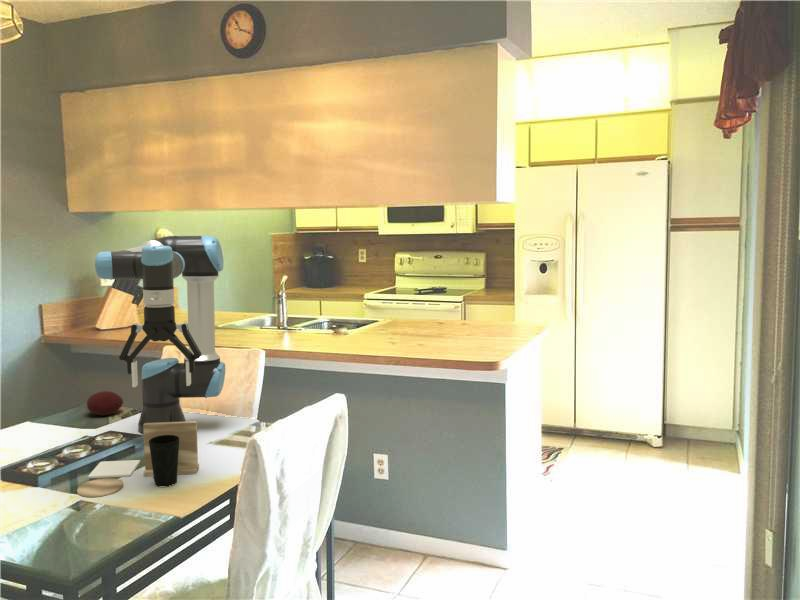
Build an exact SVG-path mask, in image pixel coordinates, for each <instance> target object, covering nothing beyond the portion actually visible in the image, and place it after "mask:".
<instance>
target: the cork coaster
mask: <svg viewBox="0 0 800 600" xmlns="http://www.w3.org/2000/svg"><path fill="white" fill-rule="evenodd" d="M123 488H124V481H123V480H122V479H120V478H116V477H109V478H96V479H92V480H90V481H87V482H84V483H83V484H81V485H80V486H78V487H77V489H76V490H77V492H76V493H77V495H78V496H80V497H84V498H101V497H107V496H110V495H113V494H115V493H118V492H119V491H121V490H122V489H123Z"/></svg>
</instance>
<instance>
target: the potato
mask: <svg viewBox="0 0 800 600" xmlns="http://www.w3.org/2000/svg"><path fill="white" fill-rule="evenodd" d="M123 404H124V400H123V398H122V396H120V395H119V394H117V393H115V392H113V391H109V390H108V391H107V390H105V391H104V390H103V391H99V392H97V393H93V394H92V395H91V396H90V397H88V398H87V402H86V407H87V409H88V411H89V412H91V413H92V415H98V416H104V417H105V416H110V415H113V414H115V413H116V412H117V411H119V410H120V409H121V408H122V406H123Z"/></svg>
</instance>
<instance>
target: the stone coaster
mask: <svg viewBox="0 0 800 600" xmlns="http://www.w3.org/2000/svg"><path fill="white" fill-rule="evenodd" d="M140 463H141V459H133V460H131V459H130V460H127V459H126V460H109V461H106V460H104V461H100V462H99V463H98V464H97V465H96V466H95V467H94V469H92V471H91V472H90V473H89V475H87V479H103V478H126V477H127V478H129V477H131V476H132V475H133V473H134V472H135V471H136V469H137V467H138V466H139V465H140Z"/></svg>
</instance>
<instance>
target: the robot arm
mask: <svg viewBox="0 0 800 600" xmlns="http://www.w3.org/2000/svg"><path fill="white" fill-rule="evenodd" d="M94 268H95V272H96V273H95V274H96V275H97V277H98V278H100V279H103V280H111V281H112V280H142V295H143V296H142V297H143V298H142V299H143V305H145V306H144V307H143V324H138V323H137V322H136V323H134V324H132V325H131V326H130V327H131V328H130V334H129V336H128V338H127V340H126V342H125V344H124V346H123V348H122V351H121V353H120V355H119V357H118V358H119V359H118V360H120V361H124V362H126V364H127V365H126V366H127V374H128V375H131V385H132V388H136V387H137V386H138V385H139V376H138V375H139V373H138V360H134V359H135V358H136V357H137V356H138V355H139V353H140V352H141V351H142V350H143V349H144V348H145V346H147V344H148V343H149V342H150V341H153V342H159V341H160V342H167V341H168V340H169V342H170V343H172V344H173V345H174V346H175V347H176V348H177V350H179V351H180V352H181V353H182V355H183V356H184V358H183V362H180V361H179V359H178V358H177V357H167V358H160V359H156V360H152V361H149V362H147V363H145V364H143V366H142V368H141V377H140V380H141V389H142V391H141V392H142V410H141V412H140V416H139V419H138V423H137V426H138V427H137V428H138V430H137V431H138V432H139V433H141V434H143V435H144V432H143V424H144V423H159V422H187V421H186V420H187V419H186V417H185V414H184V412H183V409H182V406H181V403H180V399H181V398H182V399H184V398H186V399H187V398H188V399H189V398H190V399H191V398H205V399H207V398H213V397H214V398H215V397H218V396H220V395H221V393H222V391H223V387H224V383H225V379H226V377H225V376H226V364H225V362H223V361H221V356H220V355H219V354H218V353H217V352H216V333H215V332H216V329H215V328H216V327H215V281H216V280H217V279H218V277H219V273H220V272H222V271H223V270H224V255H223V250H222V246H221V242H220V241H219V239H218V238H217V237H215V236H210V235H168V236H162V237H158V238H153V239H151V240H146V241H144V242H143V243H141V244H140V245H139V246H135V247H131V248H126V249H122V250H118V251H111V250H108V251H100V252H98V253H97V254H96V256H95V259H94ZM180 275H181V277H182V279H184V281H186V292H187V293H186V295H187V322H183V323H180V324H177V323H176V317H175V314H176V313H175V311H176V310H175V306H174V305H173V304H175V289H174V288H175V287H174V286H175V285H174V279H176V278H178V277H179V276H180ZM177 330H179V332H180V333H182V335H183V337H184V338H185V341H186V343H187V344H188V347H187V346H186V345H185V344H184V343H183V342H182V341H181V340H180V339H179V337H178V336H177V335H176V333H175V332H176V331H177ZM141 331H143V332H144V333H145V334H146V335H145V337H144V338H143V339H142V340H141V342H140V343H138V345H137V346H136V347H135V349H134V350H132V352H131V354H129V352H130V350H131V348H132V346H133V344H134V342H135V339H136V338H137V336H138V334H139V333H141Z"/></svg>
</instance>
